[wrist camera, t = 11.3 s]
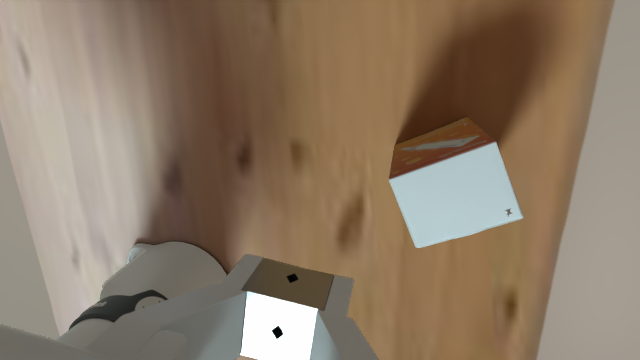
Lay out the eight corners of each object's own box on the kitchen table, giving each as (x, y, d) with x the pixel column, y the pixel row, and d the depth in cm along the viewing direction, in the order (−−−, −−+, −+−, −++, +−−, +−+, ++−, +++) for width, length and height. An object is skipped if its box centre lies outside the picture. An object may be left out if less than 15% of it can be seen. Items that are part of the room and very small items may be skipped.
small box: (467, 114, 36) (499, 139, 24) (487, 170, 38) (527, 220, 26) (392, 144, 39) (386, 179, 27) (412, 195, 40) (416, 251, 28)
